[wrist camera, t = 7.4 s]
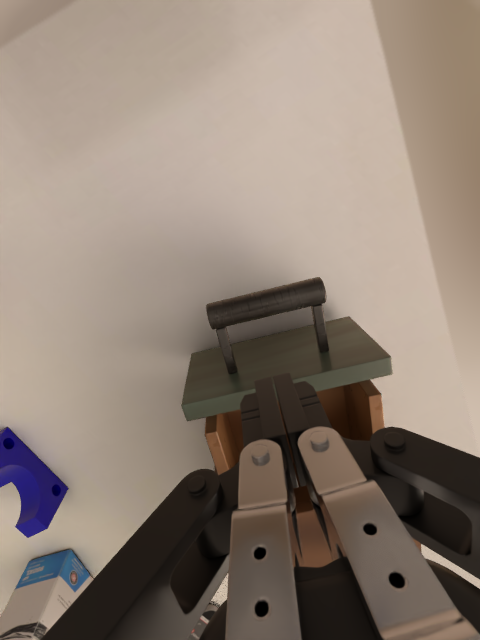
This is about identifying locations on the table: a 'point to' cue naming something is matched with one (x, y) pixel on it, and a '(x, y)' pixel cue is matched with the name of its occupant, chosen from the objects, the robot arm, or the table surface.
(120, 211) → the table surface
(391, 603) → the robot arm
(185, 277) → the table surface
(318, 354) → the drawer
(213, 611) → the smartphone
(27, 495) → the cable holder
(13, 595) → the ink box
